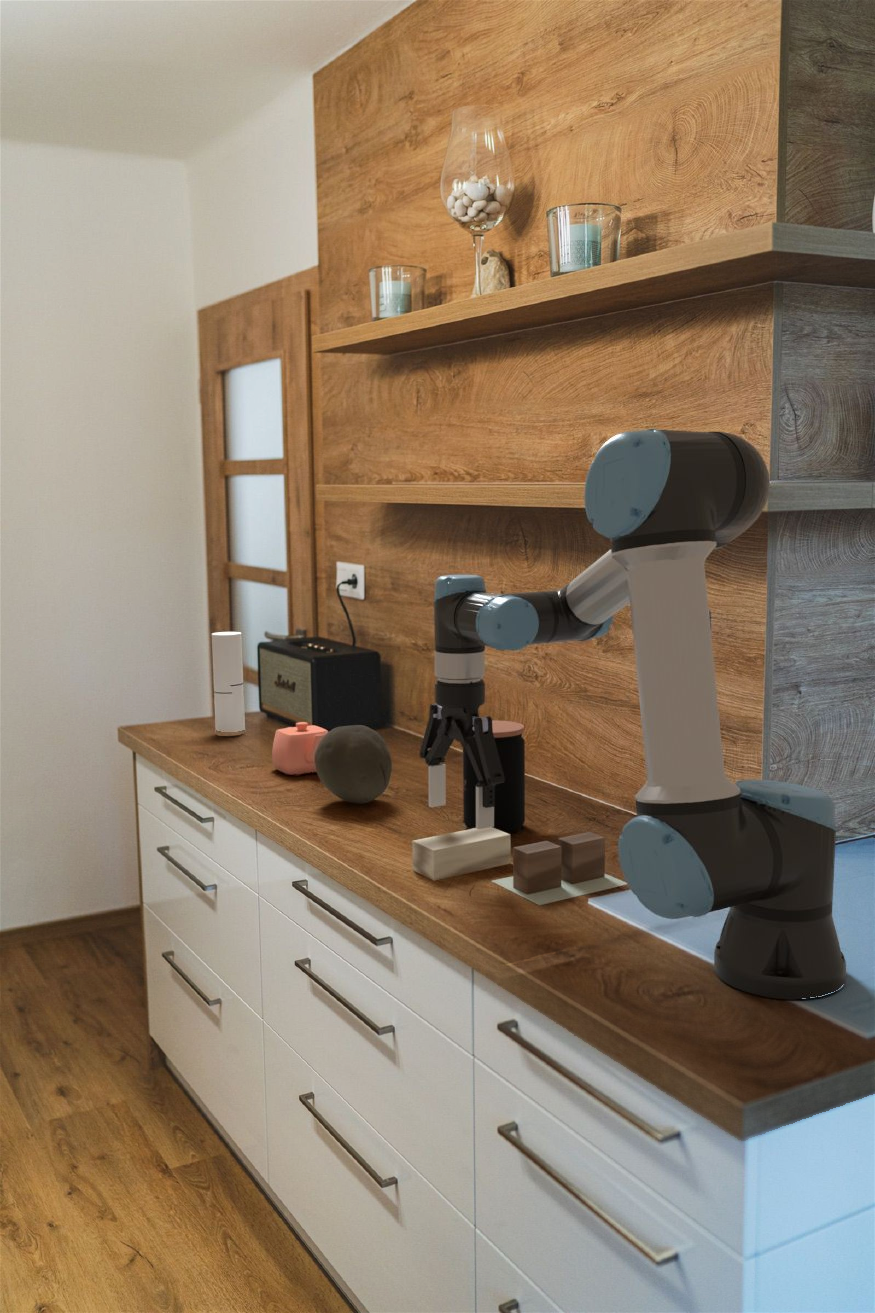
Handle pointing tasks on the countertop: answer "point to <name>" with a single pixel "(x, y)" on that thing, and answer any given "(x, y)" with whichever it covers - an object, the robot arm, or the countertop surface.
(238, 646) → the cylindrical container
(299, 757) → the teapot
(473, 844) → the lintel
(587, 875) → the post
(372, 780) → the dark grey ball
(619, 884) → the board
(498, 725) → the coffee jar
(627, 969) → the countertop surface
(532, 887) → the post
